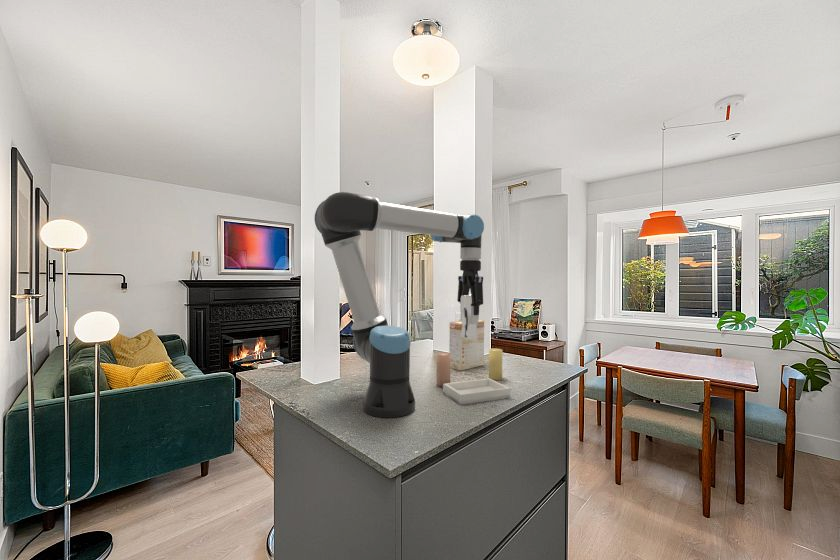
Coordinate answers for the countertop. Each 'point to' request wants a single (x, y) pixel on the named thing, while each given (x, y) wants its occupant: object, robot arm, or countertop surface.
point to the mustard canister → (495, 363)
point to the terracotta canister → (442, 368)
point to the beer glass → (467, 317)
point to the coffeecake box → (466, 347)
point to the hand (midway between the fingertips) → (469, 322)
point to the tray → (476, 391)
